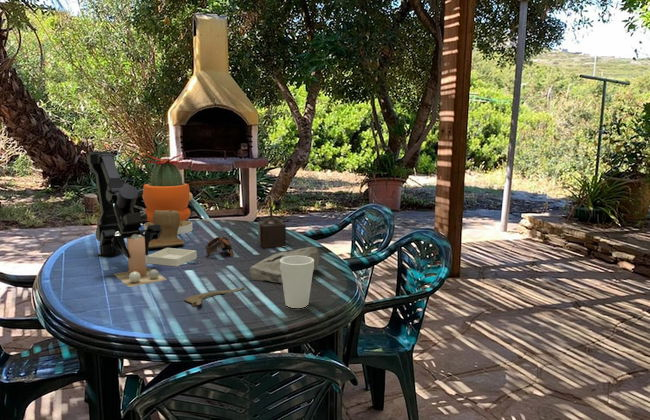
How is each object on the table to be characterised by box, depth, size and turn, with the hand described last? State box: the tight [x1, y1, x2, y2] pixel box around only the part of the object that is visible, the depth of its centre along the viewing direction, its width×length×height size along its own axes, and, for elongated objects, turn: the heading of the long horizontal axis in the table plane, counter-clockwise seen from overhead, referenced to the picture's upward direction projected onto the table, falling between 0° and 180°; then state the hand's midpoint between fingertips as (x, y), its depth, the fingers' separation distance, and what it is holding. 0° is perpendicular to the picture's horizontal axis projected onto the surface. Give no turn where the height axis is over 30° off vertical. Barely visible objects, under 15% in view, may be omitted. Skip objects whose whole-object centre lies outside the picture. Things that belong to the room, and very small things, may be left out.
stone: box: [249, 246, 320, 284], centre depth 166 cm, size 18×10×20 cm
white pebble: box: [129, 271, 141, 282], centre depth 156 cm, size 3×3×3 cm
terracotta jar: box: [126, 234, 147, 277], centre depth 162 cm, size 5×5×14 cm
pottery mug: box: [204, 236, 235, 258], centre depth 190 cm, size 12×10×8 cm
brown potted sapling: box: [257, 198, 287, 249], centre depth 207 cm, size 16×11×18 cm
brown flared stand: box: [148, 210, 185, 249], centre depth 201 cm, size 15×12×15 cm
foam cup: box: [280, 256, 314, 309], centre depth 138 cm, size 10×9×13 cm
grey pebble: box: [149, 269, 160, 279], centre depth 159 cm, size 3×3×3 cm
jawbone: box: [184, 286, 246, 308], centre depth 146 cm, size 9×20×2 cm, turn 150°
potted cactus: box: [142, 154, 193, 235], centre depth 225 cm, size 22×22×35 cm
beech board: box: [113, 267, 168, 288], centre depth 161 cm, size 16×12×1 cm
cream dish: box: [146, 247, 198, 267], centre depth 181 cm, size 13×13×3 cm
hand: (138, 256), depth 161 cm, fingers closed on terracotta jar, 5 cm apart
